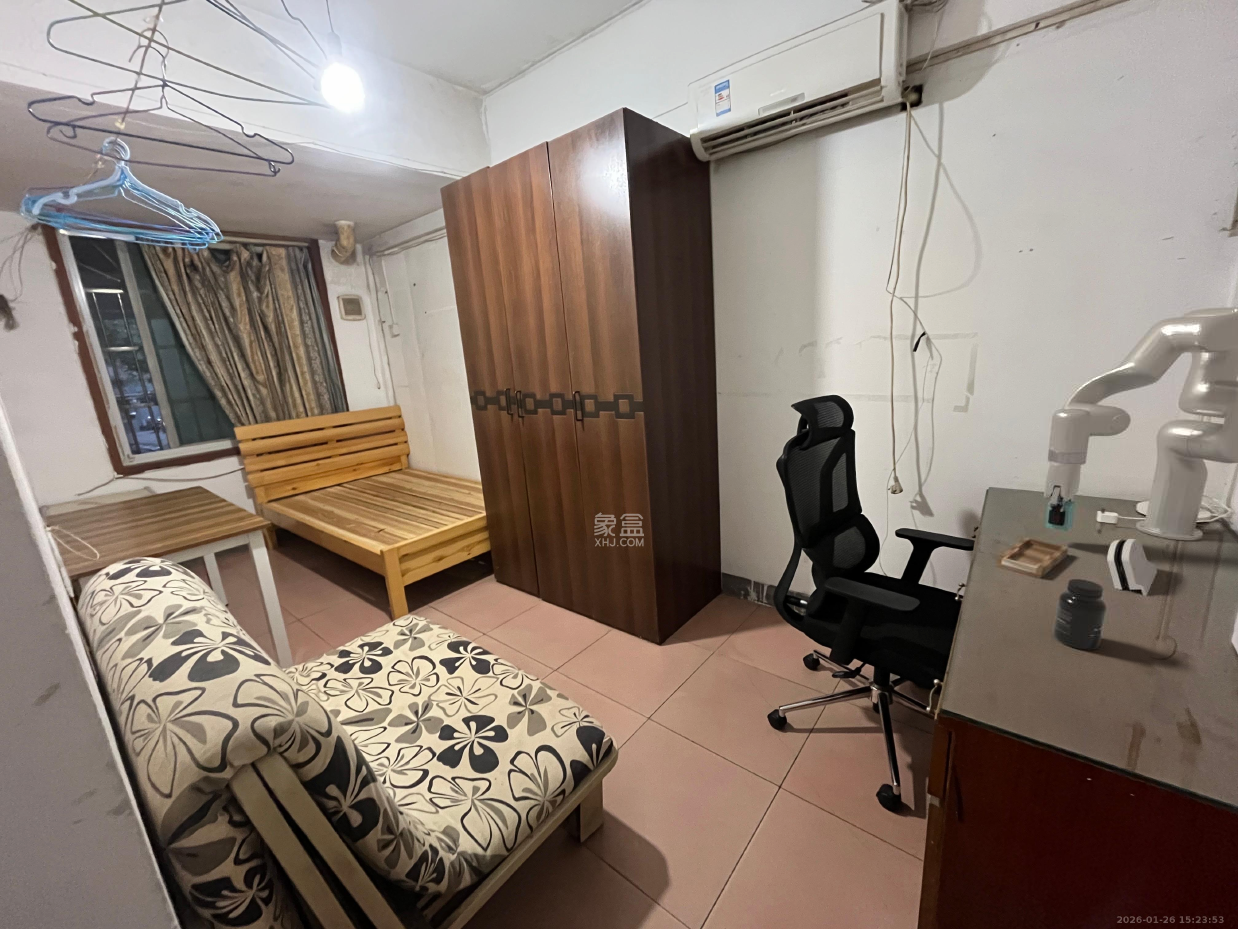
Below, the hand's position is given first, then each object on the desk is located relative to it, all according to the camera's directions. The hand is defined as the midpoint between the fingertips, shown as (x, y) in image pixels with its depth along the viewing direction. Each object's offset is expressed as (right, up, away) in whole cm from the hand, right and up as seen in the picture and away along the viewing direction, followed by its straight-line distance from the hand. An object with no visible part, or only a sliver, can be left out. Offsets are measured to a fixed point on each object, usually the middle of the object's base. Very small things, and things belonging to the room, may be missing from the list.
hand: (1059, 521), depth 135 cm
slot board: (-13, -10, -6) cm, 17 cm away
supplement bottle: (-30, -19, -38) cm, 52 cm away
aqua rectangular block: (0, -2, 0) cm, 2 cm away
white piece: (+1, -12, -17) cm, 21 cm away
